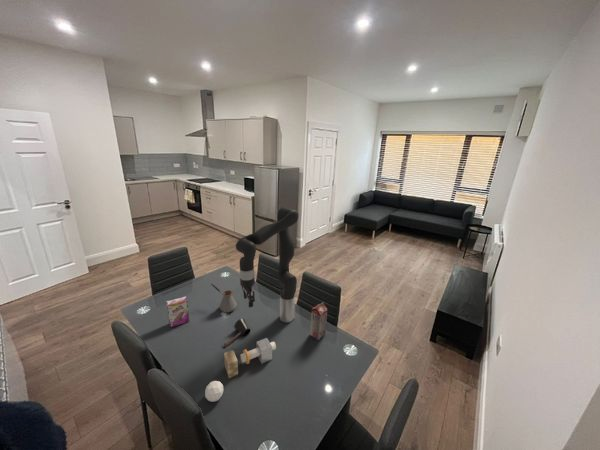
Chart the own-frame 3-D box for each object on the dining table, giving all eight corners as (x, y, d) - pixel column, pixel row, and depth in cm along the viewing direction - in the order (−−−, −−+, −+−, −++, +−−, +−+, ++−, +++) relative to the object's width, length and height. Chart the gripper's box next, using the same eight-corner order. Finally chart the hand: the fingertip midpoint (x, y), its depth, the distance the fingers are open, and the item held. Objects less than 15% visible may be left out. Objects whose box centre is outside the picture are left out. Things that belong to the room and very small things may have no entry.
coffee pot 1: (240, 307, 169) (239, 288, 164) (228, 316, 159) (227, 297, 155) (218, 297, 178) (217, 279, 174) (205, 305, 169) (204, 287, 164)
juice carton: (325, 334, 148) (328, 304, 141) (318, 340, 143) (321, 309, 136) (316, 329, 152) (319, 299, 145) (309, 334, 147) (312, 303, 141)
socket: (233, 362, 126) (233, 349, 123) (238, 374, 120) (237, 360, 117) (225, 366, 123) (224, 353, 121) (228, 378, 117) (228, 364, 115)
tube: (271, 345, 136) (272, 336, 133) (277, 354, 130) (277, 344, 128) (239, 358, 126) (239, 348, 124) (243, 368, 121) (243, 358, 119)
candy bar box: (170, 328, 147) (166, 305, 142) (169, 323, 151) (165, 301, 146) (189, 322, 153) (187, 299, 148) (188, 317, 157) (185, 295, 152)
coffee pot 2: (244, 323, 153) (252, 332, 148) (218, 341, 141) (226, 351, 136) (243, 315, 149) (252, 324, 144) (217, 333, 138) (225, 343, 133)
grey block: (266, 350, 135) (266, 337, 132) (272, 359, 129) (272, 346, 126) (256, 354, 132) (256, 341, 129) (261, 363, 126) (261, 350, 123)
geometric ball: (219, 401, 109) (227, 395, 105) (202, 406, 104) (209, 400, 100) (218, 382, 114) (225, 376, 110) (201, 386, 109) (208, 380, 105)
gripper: (258, 280, 121) (259, 307, 126) (249, 268, 133) (250, 293, 138) (244, 284, 118) (245, 312, 123) (236, 271, 129) (237, 297, 134)
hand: (248, 302), depth 130 cm, fingers open, 8 cm apart
